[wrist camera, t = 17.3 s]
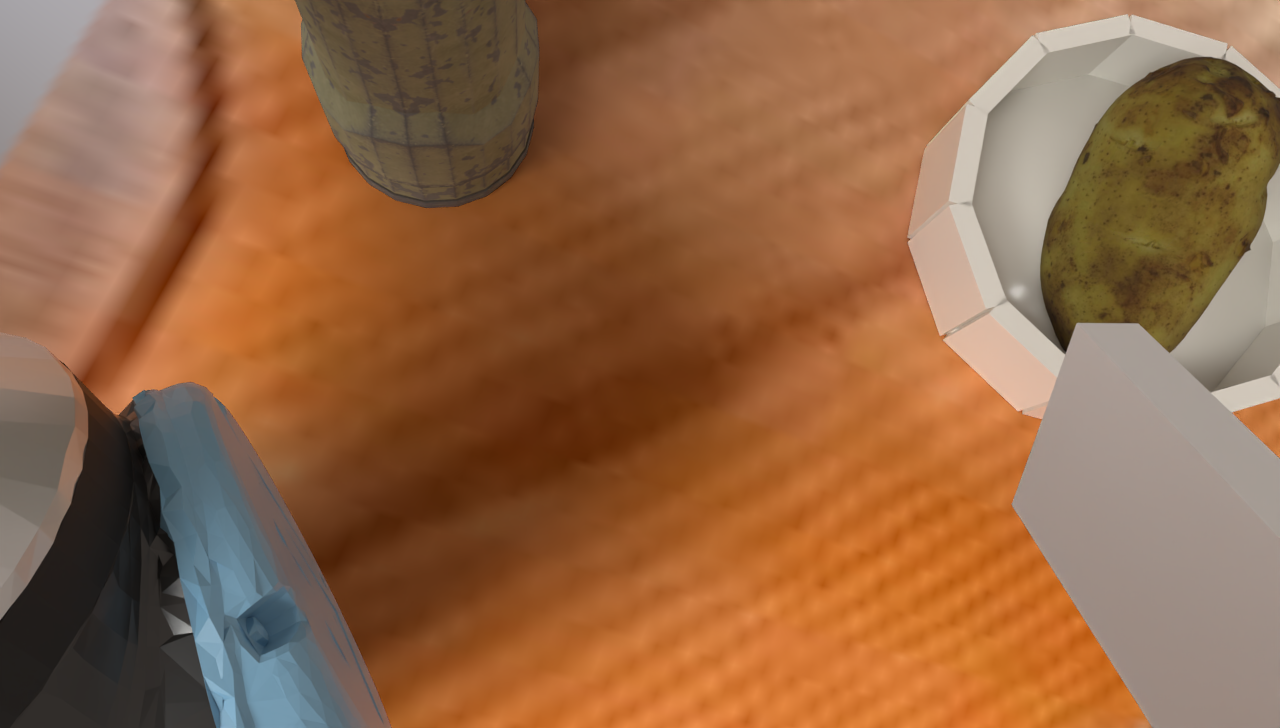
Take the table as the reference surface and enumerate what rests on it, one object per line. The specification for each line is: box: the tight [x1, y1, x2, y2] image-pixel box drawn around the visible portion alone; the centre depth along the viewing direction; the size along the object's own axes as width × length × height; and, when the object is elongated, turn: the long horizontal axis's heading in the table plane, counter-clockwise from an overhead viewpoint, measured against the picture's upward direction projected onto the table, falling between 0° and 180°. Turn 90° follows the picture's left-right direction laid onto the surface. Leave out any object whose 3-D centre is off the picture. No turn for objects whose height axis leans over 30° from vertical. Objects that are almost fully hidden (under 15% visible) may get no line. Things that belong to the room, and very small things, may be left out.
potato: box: [1040, 57, 1280, 353], centre depth 41 cm, size 8×13×8 cm, turn 141°
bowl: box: [907, 14, 1280, 419], centre depth 44 cm, size 18×18×4 cm
